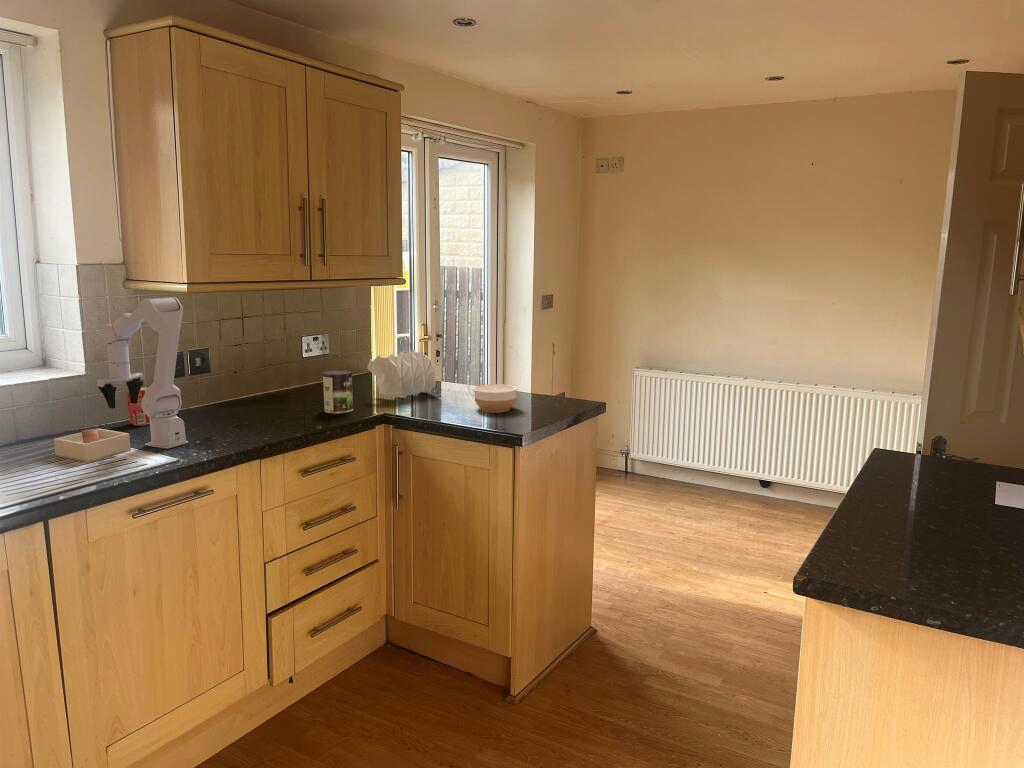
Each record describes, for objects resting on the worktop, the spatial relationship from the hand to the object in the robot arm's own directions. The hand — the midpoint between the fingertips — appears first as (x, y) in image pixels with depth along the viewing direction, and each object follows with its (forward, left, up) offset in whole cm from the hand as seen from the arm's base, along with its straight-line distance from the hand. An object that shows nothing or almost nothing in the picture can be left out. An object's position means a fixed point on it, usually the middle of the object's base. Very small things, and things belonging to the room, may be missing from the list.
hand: (123, 405), depth 236 cm
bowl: (-86, -86, -10) cm, 122 cm away
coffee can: (-37, -58, -10) cm, 69 cm away
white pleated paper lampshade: (-44, -90, -10) cm, 101 cm away
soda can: (+8, -12, -10) cm, 17 cm away
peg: (-10, +18, -9) cm, 22 cm away
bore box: (-10, +18, -9) cm, 23 cm away
